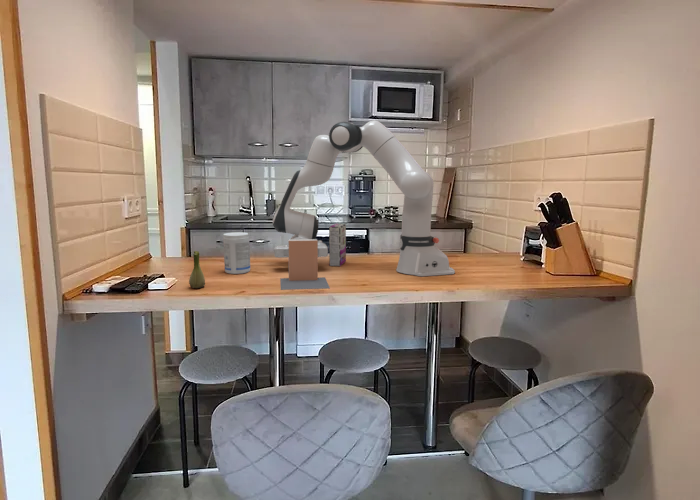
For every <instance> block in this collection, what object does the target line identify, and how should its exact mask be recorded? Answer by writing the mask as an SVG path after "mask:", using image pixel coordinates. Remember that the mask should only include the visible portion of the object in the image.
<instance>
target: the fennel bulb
mask: <svg viewBox="0 0 700 500" xmlns="http://www.w3.org/2000/svg"><path fill="white" fill-rule="evenodd" d="M192 255H193V269H192V272H191V274H190V275H189V278H188V283H189V284H188V285H189V286H190V287H191V289H192V288H193V289H201V288H203V287H205V286H206V278H205V275H204V273H203V271H202V268H201V266H200V252H199V251H196V250H195V251H193V254H192Z"/></svg>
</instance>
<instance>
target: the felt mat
mask: <svg viewBox="0 0 700 500" xmlns="http://www.w3.org/2000/svg"><path fill="white" fill-rule="evenodd" d="M279 280H280V290H281V291H282V290H283V291H285V290H319V289H320V290H321V289H322V290H323V289H326V290H327V289H331V287H330V285H329V283H328V281H327V279H326V276H325V277H318V280H296V281H289V277H286V278H285V277H284V278H279Z"/></svg>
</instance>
